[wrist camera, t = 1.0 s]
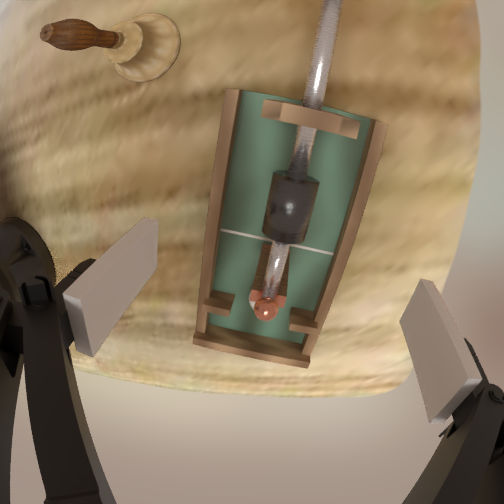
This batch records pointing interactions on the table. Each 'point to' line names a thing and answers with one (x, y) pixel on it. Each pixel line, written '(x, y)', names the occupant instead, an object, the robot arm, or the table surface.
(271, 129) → the pitch
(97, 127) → the table surface
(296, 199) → the kicker
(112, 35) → the hand bell
